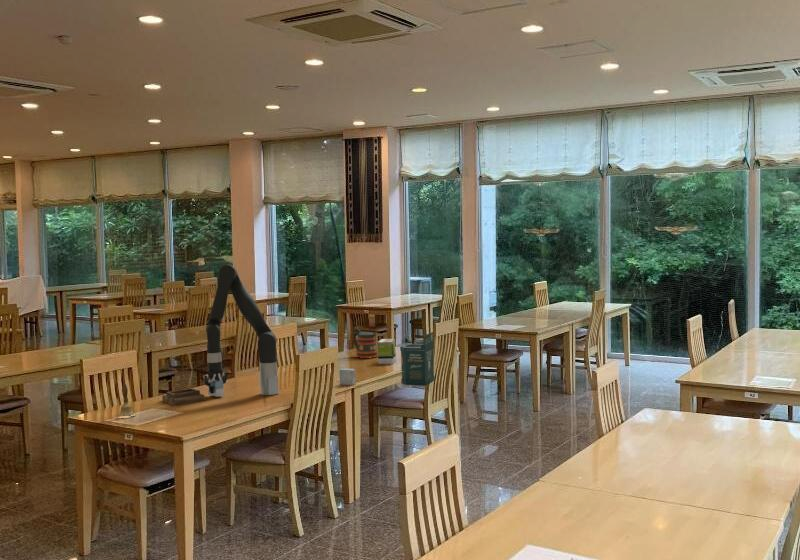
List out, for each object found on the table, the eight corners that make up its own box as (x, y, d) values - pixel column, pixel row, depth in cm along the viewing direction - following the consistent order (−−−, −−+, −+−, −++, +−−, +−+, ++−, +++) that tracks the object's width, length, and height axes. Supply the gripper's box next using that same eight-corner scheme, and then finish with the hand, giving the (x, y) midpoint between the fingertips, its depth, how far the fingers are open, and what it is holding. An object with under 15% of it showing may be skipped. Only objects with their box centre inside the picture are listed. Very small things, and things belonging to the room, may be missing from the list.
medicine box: (355, 383, 452) (355, 368, 451) (352, 385, 448) (352, 370, 447) (343, 383, 455) (342, 368, 454) (339, 384, 450) (339, 369, 450)
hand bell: (118, 419, 378) (116, 386, 377) (116, 416, 386) (115, 383, 385) (136, 417, 381) (134, 384, 380) (134, 414, 389) (133, 381, 388)
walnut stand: (204, 400, 417) (204, 391, 417) (175, 405, 407) (175, 395, 406) (191, 396, 429) (190, 387, 429) (162, 400, 419) (162, 391, 419)
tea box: (381, 360, 534) (380, 338, 533) (396, 360, 533) (395, 338, 532) (377, 364, 519) (377, 341, 518) (393, 364, 518) (392, 341, 517)
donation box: (425, 385, 441) (424, 335, 439) (398, 384, 446) (397, 334, 445) (434, 380, 456) (433, 331, 454) (408, 379, 461) (406, 331, 460)
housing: (224, 395, 424) (223, 380, 424) (216, 396, 421) (215, 381, 421) (216, 393, 431) (215, 378, 431) (208, 394, 428) (207, 379, 428)
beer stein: (347, 357, 550) (346, 328, 549) (359, 354, 563) (358, 326, 561) (369, 359, 540) (369, 330, 539) (381, 356, 553) (380, 327, 551)
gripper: (205, 363, 418) (207, 395, 419) (229, 359, 427) (231, 391, 428) (198, 362, 423) (200, 393, 424) (223, 358, 433) (224, 389, 434)
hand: (216, 392), depth 426 cm, fingers closed on housing, 4 cm apart
